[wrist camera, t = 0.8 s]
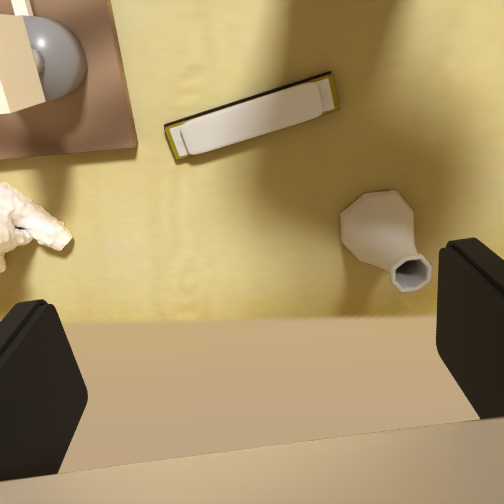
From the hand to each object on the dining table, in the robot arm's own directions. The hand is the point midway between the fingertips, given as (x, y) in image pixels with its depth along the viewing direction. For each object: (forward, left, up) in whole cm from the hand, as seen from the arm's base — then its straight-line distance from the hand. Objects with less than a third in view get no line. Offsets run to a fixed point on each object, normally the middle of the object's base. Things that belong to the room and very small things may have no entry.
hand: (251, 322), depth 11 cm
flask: (+11, +12, -31) cm, 35 cm away
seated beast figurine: (+7, -22, -31) cm, 39 cm away
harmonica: (0, +1, -31) cm, 31 cm away
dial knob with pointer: (-10, -14, -29) cm, 33 cm away
